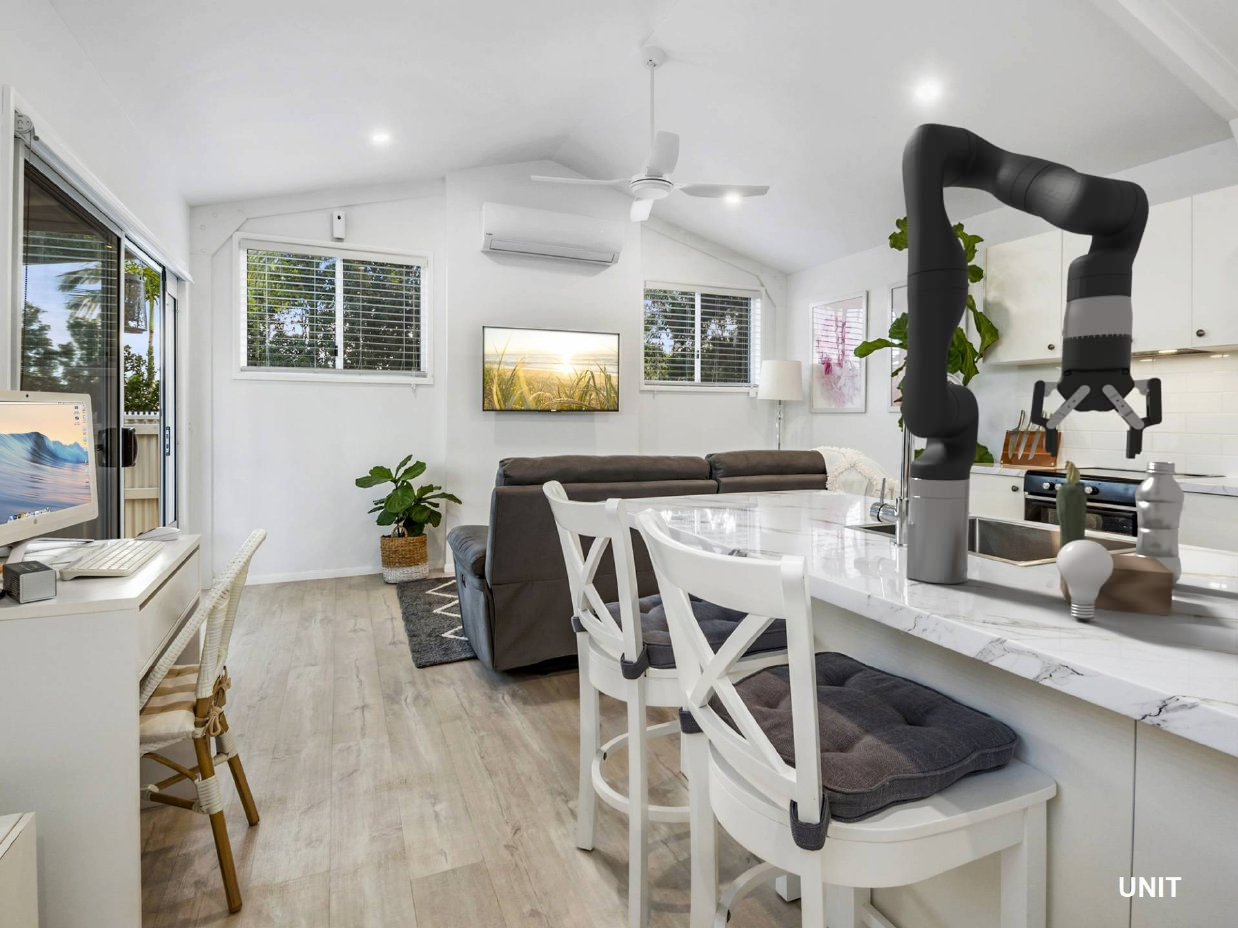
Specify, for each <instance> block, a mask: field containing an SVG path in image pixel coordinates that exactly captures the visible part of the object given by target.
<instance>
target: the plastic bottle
mask: <svg viewBox="0 0 1238 928" xmlns="http://www.w3.org/2000/svg"><path fill="white" fill-rule="evenodd" d="M1175 467H1176V463H1175V462H1170V461H1169V462H1166V461H1165V462H1164V461H1148V462H1147V463H1146V470H1145V474H1147V477H1146V478H1145V479H1144V480H1143V481H1142V482H1141V483H1140V484H1139V485H1138V487H1137V488H1136V490H1135V493H1134V496H1135V498H1134V499H1135V506H1136V514H1137V526H1138V527H1137V537H1136V546H1135V552H1134V555H1133V556H1142V557H1155V558H1156V559H1157V560H1158V561H1159V562H1161V563H1162V564H1163V565H1164V566H1165V567H1166V568H1168V569H1169V570H1170V571H1171V572H1172V573H1173V585H1175V584H1176V583H1178V581H1179V580H1180V579H1181V576H1182V564H1181V558H1180V552H1179V549H1180V548H1179V528H1180V519H1181V516H1182V511H1183V507H1184V506H1183V505H1184V501H1185V494H1184V491H1183V489H1182V488H1181V485H1180V484H1179V483H1178V482H1177V481H1176V480H1175V478H1174V477H1173V475H1175V474H1176V471H1175V470H1176V468H1175Z"/></svg>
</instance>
